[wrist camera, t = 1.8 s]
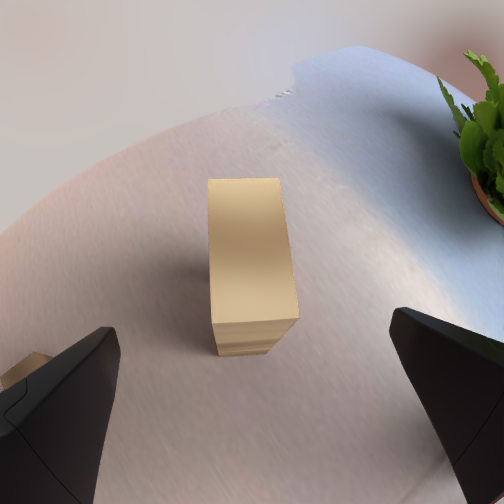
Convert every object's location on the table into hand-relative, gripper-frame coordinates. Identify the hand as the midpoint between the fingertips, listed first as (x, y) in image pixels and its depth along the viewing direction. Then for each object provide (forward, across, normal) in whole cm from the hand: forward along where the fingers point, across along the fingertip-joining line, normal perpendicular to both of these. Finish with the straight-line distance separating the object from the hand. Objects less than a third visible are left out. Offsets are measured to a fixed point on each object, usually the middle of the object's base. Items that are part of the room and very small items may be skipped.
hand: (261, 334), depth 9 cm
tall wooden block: (+10, 0, +5) cm, 12 cm away
